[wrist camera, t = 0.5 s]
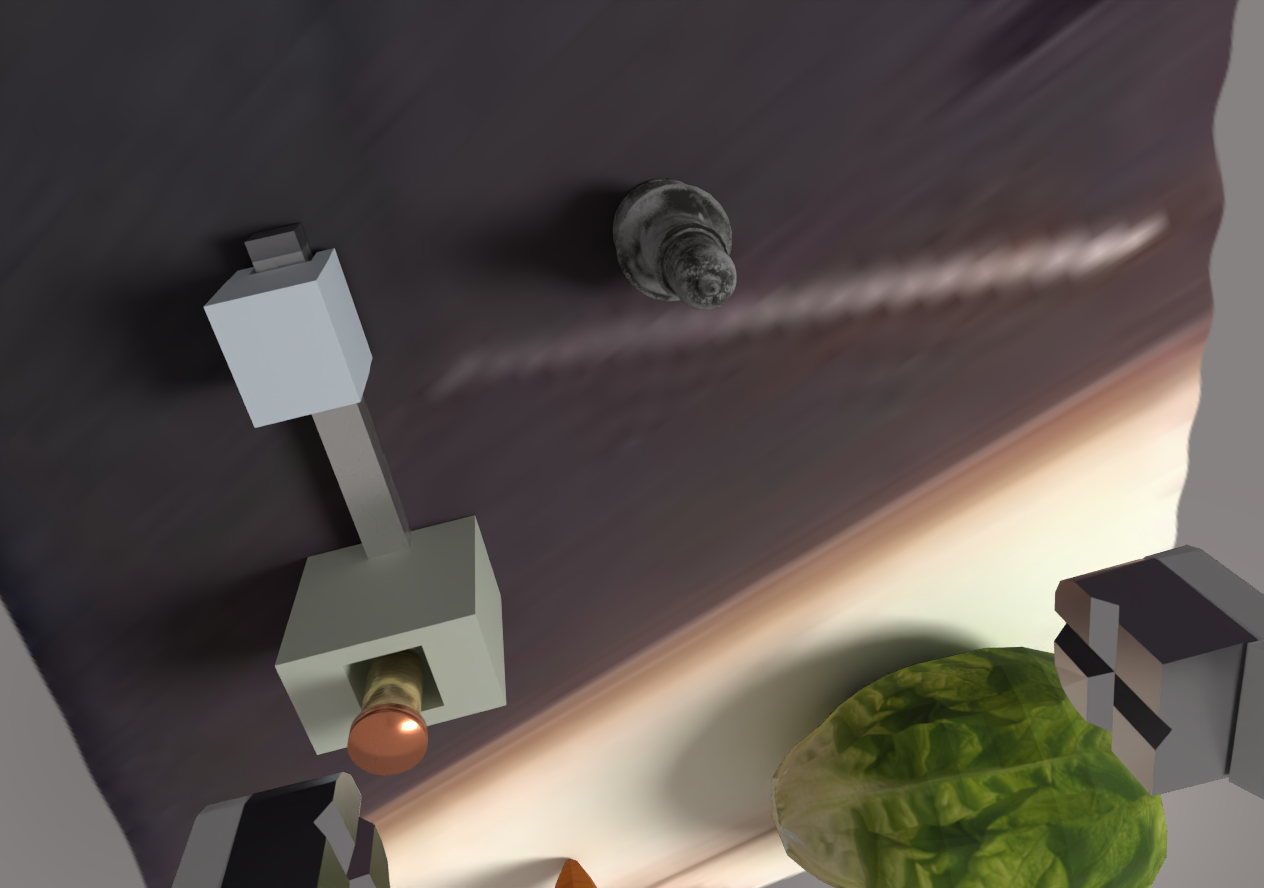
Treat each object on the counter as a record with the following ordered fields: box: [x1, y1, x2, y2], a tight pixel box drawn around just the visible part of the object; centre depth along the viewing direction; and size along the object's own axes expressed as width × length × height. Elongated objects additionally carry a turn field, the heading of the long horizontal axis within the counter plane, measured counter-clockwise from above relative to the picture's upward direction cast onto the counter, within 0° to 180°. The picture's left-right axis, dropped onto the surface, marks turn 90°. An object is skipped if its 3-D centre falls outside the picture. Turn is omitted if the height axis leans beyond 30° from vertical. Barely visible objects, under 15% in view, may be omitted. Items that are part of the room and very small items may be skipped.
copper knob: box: [347, 649, 428, 775], centre depth 45 cm, size 4×4×6 cm
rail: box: [244, 223, 412, 559], centre depth 49 cm, size 18×2×2 cm, turn 11°
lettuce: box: [772, 647, 1167, 888], centre depth 59 cm, size 17×23×17 cm
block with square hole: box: [275, 515, 506, 755], centre depth 51 cm, size 6×10×10 cm, turn 102°
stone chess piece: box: [613, 178, 736, 311], centre depth 43 cm, size 6×6×12 cm
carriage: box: [204, 248, 372, 428], centre depth 44 cm, size 6×5×6 cm
